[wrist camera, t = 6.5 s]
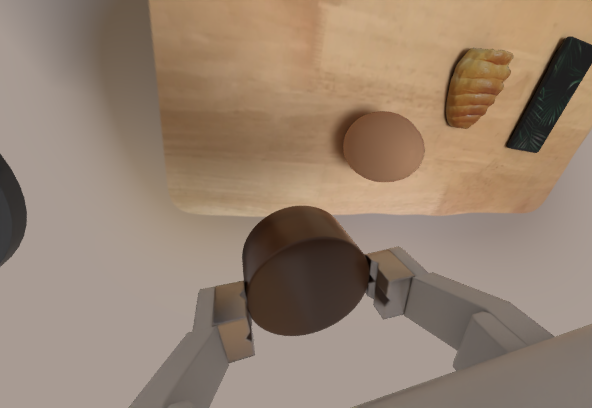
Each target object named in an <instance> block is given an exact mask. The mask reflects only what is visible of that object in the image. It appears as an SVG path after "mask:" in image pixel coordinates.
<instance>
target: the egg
mask: <svg viewBox="0 0 592 408" xmlns="http://www.w3.org/2000/svg"><path fill="white" fill-rule="evenodd" d="M343 151H344V155H345V158H346V160H347V162H348V164H349V165H350V167H351V168H352V169H353V170H354V171H355V172H356V173H358V174H359V175H361V176H362V177H364V178H366V179H369V180H372V181H376V182H394V181H397V180H401V179H404V178H406V177H408V176H410V175H411V174H412V173H413V172H415V171H416V170H417V169H418V168H419V166H420V164H421V162H422V160H423V157H424V152H425V148H424V141H423V139H422V136H421V134H420V132H419V131H418V130H417V128H416V127H415V126H414V125H413V124H412V123H411V122H410V121H409V120H408V119H406V118H404V117H403V116H401V115H399V114H395V113H392V112H373V113H369V114H366V115H364V116H362V117H360V118H358V119H357V120H356V121H355V122H354V123H353V124H352V125H351V126H350V128H349V129H348V131H347V133H346V135H345V138H344V147H343Z"/></svg>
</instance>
